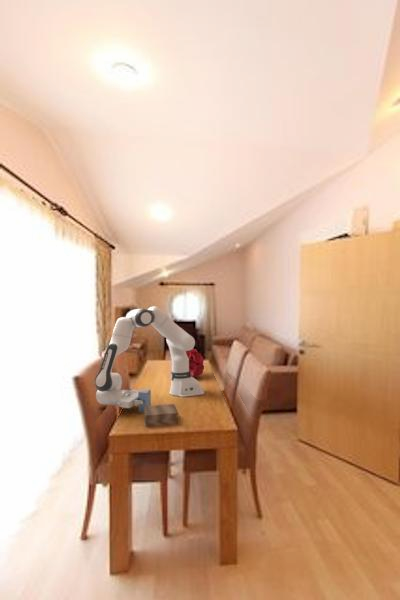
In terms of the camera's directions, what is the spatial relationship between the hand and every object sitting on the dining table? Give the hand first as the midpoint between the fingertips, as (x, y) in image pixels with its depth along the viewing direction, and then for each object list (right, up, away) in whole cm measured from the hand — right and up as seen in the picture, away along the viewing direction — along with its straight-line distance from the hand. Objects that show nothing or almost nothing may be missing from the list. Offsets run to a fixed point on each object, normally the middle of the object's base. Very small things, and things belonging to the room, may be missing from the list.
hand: (146, 400), depth 196 cm
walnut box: (+10, -7, -14) cm, 18 cm away
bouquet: (+21, -4, +78) cm, 81 cm away
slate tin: (-1, -6, 0) cm, 6 cm away
